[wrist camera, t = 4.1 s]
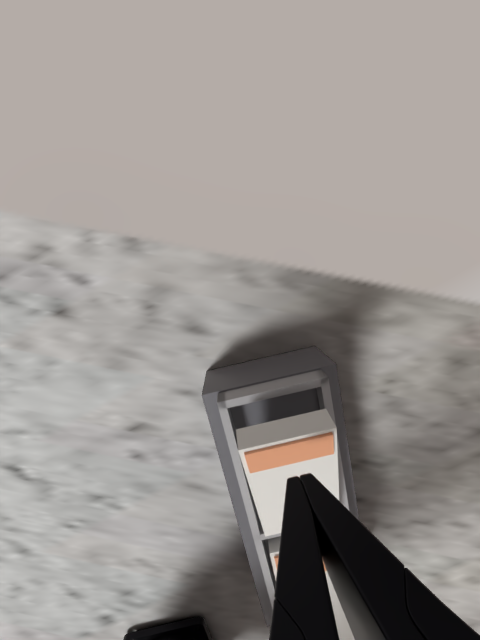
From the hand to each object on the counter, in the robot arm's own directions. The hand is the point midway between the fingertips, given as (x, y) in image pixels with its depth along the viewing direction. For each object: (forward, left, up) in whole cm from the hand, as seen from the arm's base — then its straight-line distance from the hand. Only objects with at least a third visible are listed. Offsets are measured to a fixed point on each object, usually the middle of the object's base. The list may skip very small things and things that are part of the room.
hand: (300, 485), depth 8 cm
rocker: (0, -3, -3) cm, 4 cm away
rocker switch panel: (0, -7, -8) cm, 10 cm away
